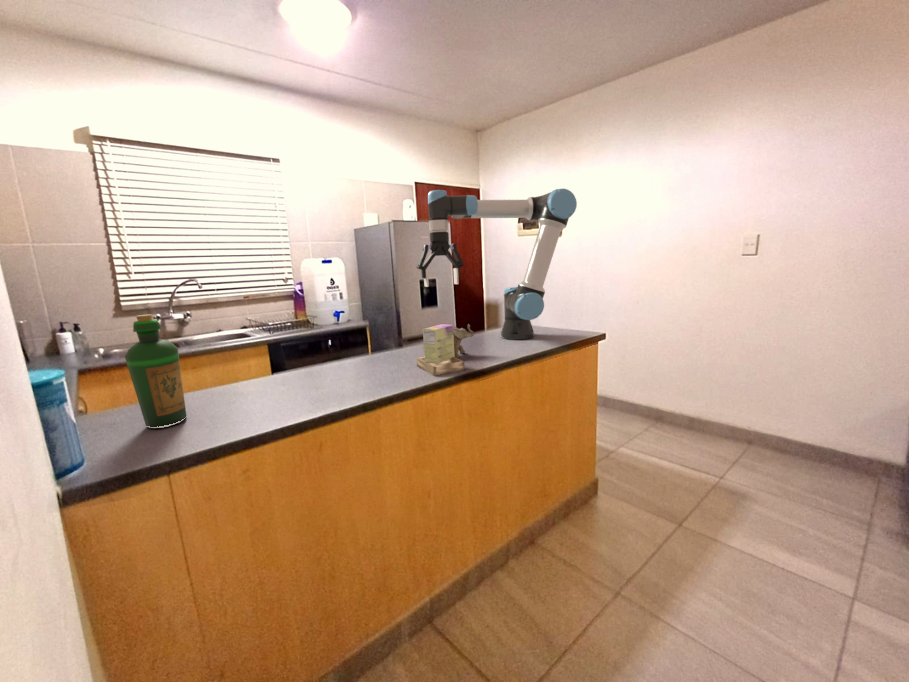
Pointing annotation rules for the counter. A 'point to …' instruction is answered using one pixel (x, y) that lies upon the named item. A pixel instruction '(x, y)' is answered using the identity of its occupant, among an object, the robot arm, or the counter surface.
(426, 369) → the tray
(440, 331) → the box
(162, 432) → the counter surface
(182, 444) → the counter surface
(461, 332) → the figurine
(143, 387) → the bottle
